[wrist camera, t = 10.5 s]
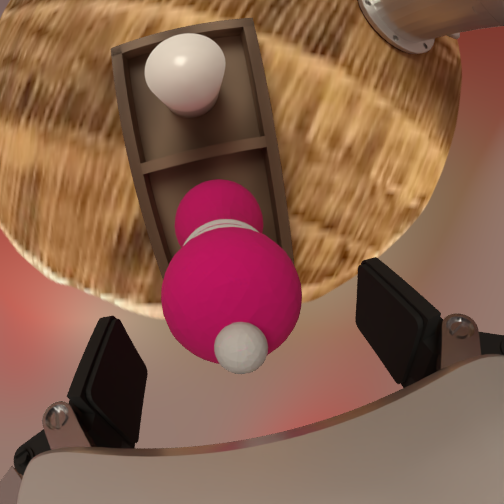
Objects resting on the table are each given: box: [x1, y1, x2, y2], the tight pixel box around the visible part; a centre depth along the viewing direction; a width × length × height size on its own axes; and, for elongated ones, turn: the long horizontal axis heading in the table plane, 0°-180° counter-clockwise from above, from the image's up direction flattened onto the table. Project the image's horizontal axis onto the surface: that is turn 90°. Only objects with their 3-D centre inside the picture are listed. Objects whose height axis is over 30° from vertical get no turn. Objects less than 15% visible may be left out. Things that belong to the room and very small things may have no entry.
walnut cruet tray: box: [111, 18, 294, 280], centre depth 23 cm, size 13×25×3 cm, turn 10°
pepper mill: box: [161, 179, 302, 374], centre depth 17 cm, size 7×7×20 cm
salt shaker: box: [145, 33, 225, 118], centre depth 17 cm, size 5×5×9 cm
